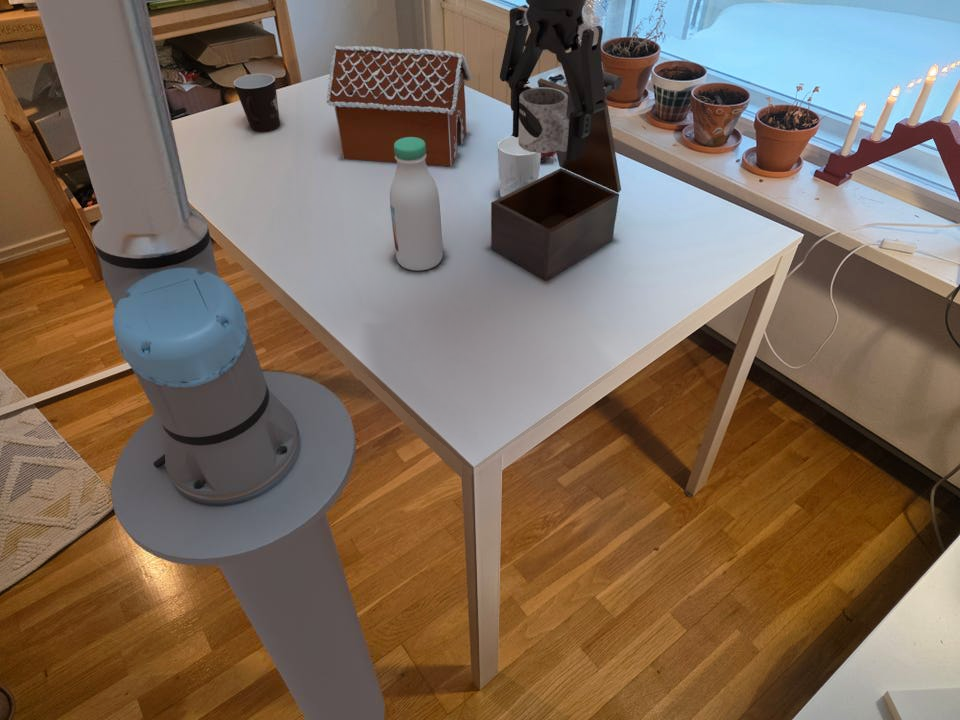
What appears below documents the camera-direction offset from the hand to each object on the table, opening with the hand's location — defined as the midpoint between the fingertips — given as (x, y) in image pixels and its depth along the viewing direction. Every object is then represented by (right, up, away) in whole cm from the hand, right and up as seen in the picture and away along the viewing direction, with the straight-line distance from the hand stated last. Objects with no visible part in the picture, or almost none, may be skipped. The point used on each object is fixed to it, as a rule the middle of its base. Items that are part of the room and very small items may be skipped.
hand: (547, 145), depth 93 cm
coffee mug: (-59, +21, +52) cm, 81 cm away
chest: (+3, -11, +17) cm, 20 cm away
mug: (0, 0, 0) cm, 0 cm away
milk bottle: (-20, -14, +15) cm, 28 cm away
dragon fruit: (+2, +11, +41) cm, 43 cm away
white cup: (-2, 0, +29) cm, 29 cm away
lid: (+6, +3, +7) cm, 10 cm away
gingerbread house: (-25, +15, +45) cm, 54 cm away
